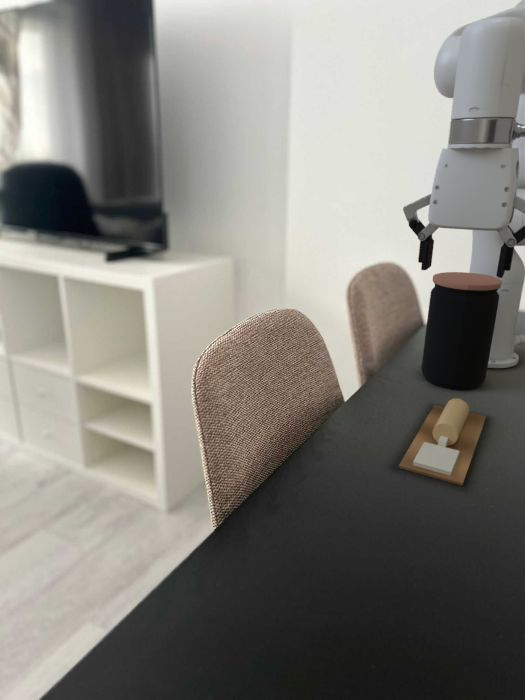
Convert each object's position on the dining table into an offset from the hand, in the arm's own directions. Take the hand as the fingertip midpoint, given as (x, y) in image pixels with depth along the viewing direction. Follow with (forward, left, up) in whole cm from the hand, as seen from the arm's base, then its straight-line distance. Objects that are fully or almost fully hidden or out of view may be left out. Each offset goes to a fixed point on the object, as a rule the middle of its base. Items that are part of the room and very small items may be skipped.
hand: (462, 271), depth 70 cm
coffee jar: (-12, -10, -22) cm, 26 cm away
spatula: (+6, +7, -21) cm, 23 cm away
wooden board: (+5, +6, -22) cm, 23 cm away
